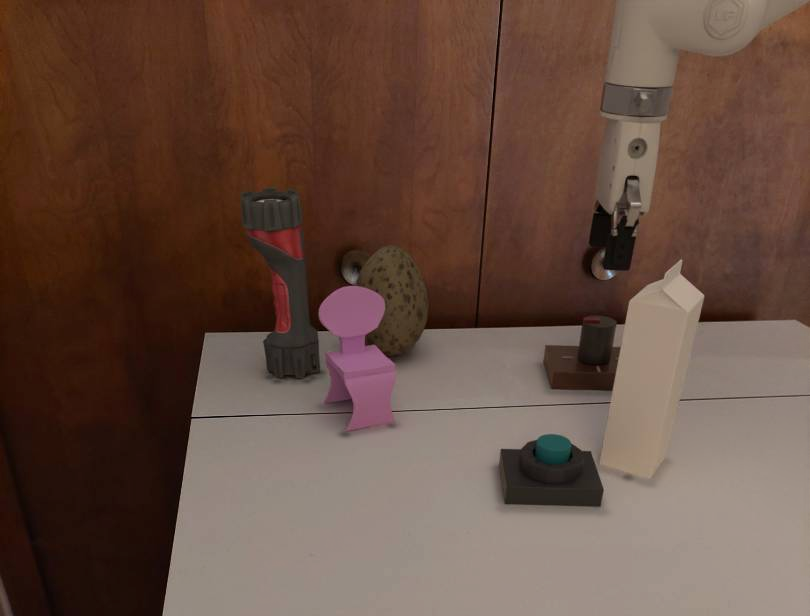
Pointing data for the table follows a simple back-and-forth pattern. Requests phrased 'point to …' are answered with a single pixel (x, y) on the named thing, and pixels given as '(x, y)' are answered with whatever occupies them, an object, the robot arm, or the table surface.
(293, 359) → the flashlight
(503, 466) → the push button base
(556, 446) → the teal push button
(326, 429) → the table surface
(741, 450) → the table surface
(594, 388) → the dial panel
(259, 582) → the table surface
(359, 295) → the toy chair
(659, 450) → the milk
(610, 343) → the dial
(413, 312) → the decorative egg
